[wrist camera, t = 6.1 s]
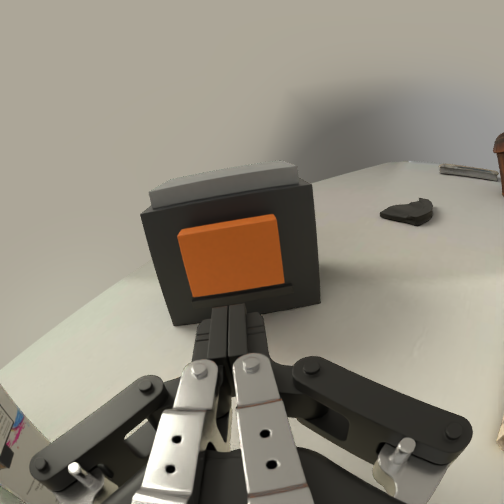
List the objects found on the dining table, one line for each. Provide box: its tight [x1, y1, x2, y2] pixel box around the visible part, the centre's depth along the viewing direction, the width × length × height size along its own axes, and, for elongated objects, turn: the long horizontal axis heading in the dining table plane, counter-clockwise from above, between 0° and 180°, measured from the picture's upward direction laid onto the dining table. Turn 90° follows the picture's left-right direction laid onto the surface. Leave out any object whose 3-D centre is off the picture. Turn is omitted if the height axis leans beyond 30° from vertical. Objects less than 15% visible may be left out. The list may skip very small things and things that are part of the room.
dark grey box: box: [140, 160, 321, 326], centre depth 28 cm, size 10×14×12 cm
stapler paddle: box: [177, 214, 284, 297], centre depth 21 cm, size 2×7×5 cm, turn 94°
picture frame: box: [439, 164, 499, 181], centre depth 77 cm, size 13×25×3 cm, turn 44°
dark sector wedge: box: [380, 198, 433, 226], centre depth 45 cm, size 8×14×2 cm, turn 120°
